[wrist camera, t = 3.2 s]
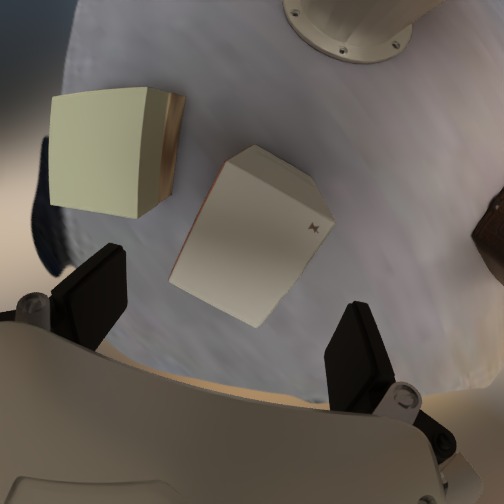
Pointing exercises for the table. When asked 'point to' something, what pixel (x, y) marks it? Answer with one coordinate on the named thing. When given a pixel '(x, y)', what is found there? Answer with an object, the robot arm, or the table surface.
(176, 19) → the table surface
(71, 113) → the tower top block
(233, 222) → the small box
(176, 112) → the tower base block
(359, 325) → the robot arm
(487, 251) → the manual coffee grinder
